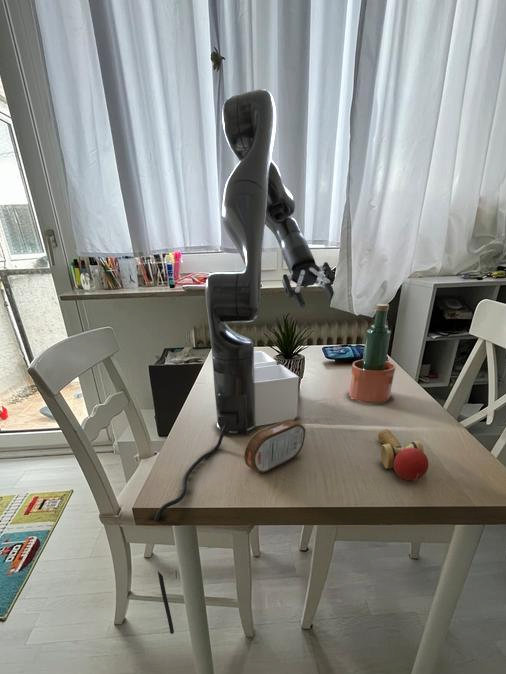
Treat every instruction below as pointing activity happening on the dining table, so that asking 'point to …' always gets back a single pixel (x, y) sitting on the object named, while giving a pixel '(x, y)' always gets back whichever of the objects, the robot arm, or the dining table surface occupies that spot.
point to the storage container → (274, 391)
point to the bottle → (377, 341)
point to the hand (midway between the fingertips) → (317, 301)
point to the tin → (274, 445)
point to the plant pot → (371, 383)
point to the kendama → (403, 457)
